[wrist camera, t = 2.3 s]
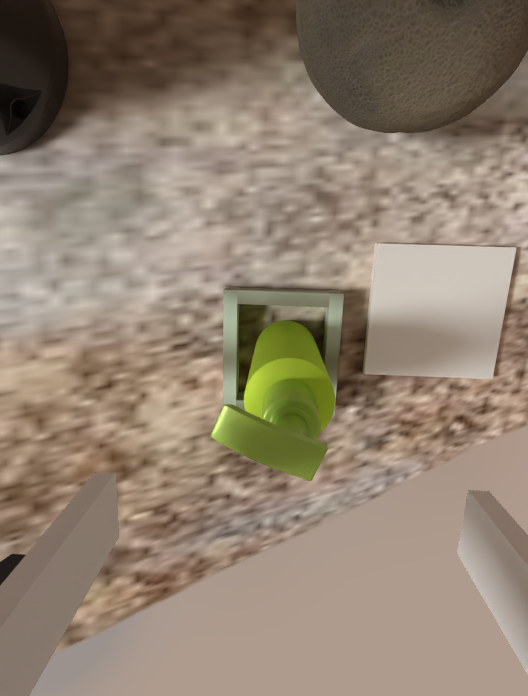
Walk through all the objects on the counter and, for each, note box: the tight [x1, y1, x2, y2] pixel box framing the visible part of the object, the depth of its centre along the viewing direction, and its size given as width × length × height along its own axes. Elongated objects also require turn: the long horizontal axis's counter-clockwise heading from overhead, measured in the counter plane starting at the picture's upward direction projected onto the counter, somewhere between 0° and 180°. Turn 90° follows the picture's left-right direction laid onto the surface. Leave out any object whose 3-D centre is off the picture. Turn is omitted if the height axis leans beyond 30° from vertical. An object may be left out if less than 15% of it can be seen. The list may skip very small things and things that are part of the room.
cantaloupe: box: [296, 0, 528, 133], centre depth 25 cm, size 14×14×15 cm
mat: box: [363, 243, 516, 379], centre depth 36 cm, size 12×12×1 cm
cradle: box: [223, 287, 344, 416], centre depth 37 cm, size 11×10×2 cm
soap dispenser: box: [211, 321, 335, 481], centre depth 28 cm, size 6×7×20 cm
